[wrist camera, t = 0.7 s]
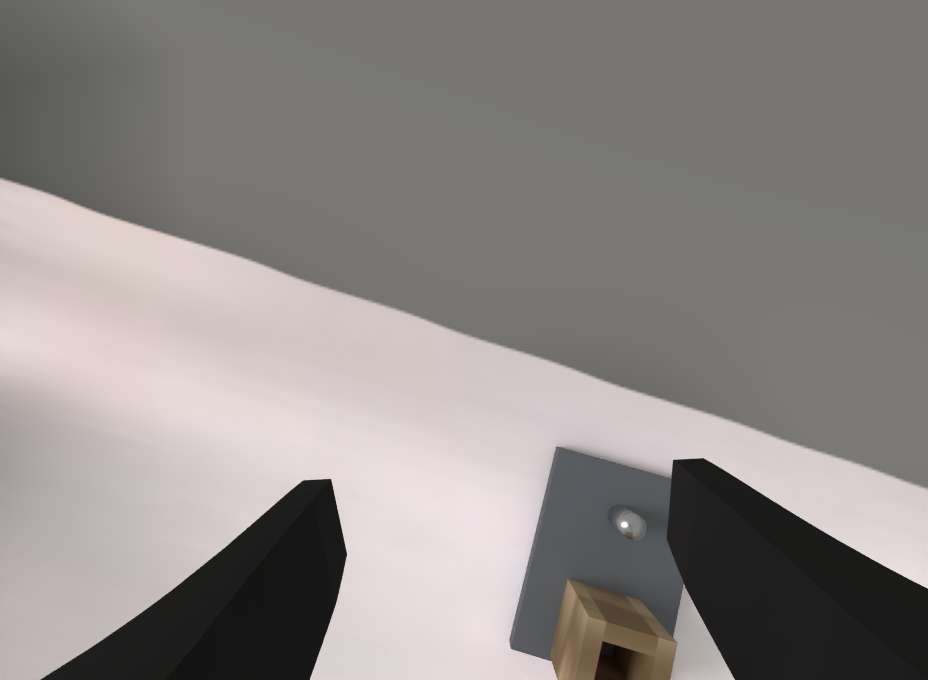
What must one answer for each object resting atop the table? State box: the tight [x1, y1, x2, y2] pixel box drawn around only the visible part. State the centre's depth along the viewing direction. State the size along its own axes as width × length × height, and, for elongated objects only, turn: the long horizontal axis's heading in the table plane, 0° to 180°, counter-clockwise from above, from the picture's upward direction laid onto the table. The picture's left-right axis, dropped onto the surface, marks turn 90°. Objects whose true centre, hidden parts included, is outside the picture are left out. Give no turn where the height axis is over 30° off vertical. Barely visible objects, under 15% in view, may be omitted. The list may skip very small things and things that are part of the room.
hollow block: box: [550, 579, 677, 680], centre depth 25 cm, size 4×4×5 cm
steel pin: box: [608, 505, 647, 541], centre depth 27 cm, size 1×1×2 cm
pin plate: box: [510, 447, 684, 661], centre depth 28 cm, size 12×9×1 cm
